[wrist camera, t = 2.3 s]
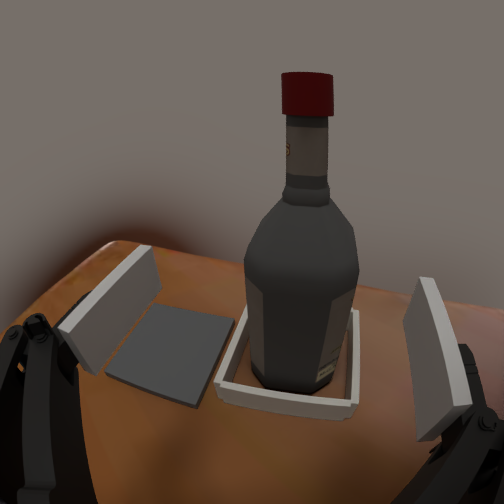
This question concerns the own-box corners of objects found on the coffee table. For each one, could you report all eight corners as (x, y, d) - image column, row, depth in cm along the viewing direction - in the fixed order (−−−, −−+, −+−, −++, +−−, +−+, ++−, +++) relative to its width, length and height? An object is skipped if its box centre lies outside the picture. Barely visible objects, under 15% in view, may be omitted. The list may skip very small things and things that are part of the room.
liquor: (247, 387, 29) (222, 71, 14) (265, 331, 37) (258, 79, 21) (328, 398, 27) (384, 74, 12) (333, 339, 35) (363, 82, 19)
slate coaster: (235, 323, 38) (234, 318, 38) (197, 409, 27) (195, 405, 26) (155, 307, 41) (153, 302, 41) (107, 375, 30) (103, 370, 29)
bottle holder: (353, 326, 36) (358, 308, 34) (350, 421, 24) (358, 407, 22) (251, 314, 40) (250, 295, 38) (216, 400, 28) (212, 384, 26)
